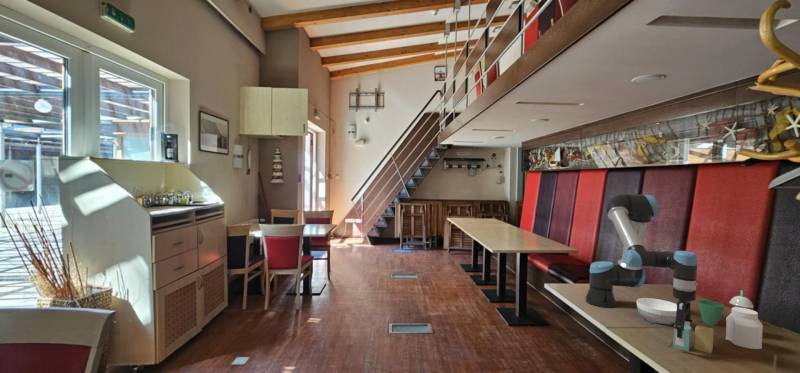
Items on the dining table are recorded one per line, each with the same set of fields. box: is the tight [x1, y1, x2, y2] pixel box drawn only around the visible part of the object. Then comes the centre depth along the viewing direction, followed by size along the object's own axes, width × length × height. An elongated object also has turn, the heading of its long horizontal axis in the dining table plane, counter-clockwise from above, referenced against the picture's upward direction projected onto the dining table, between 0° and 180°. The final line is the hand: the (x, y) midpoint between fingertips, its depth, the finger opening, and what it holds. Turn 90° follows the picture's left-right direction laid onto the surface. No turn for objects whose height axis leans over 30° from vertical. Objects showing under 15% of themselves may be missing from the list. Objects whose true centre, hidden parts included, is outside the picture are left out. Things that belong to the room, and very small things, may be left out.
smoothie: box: [728, 289, 754, 315], centre depth 169 cm, size 8×8×20 cm
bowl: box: [636, 297, 677, 326], centre depth 181 cm, size 19×19×9 cm
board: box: [668, 340, 714, 359], centre depth 151 cm, size 13×12×1 cm
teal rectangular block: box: [672, 324, 693, 351], centre depth 151 cm, size 5×5×9 cm
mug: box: [697, 298, 725, 326], centre depth 182 cm, size 15×10×10 cm
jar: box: [725, 307, 764, 350], centre depth 156 cm, size 12×10×15 cm
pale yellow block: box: [694, 324, 714, 354], centre depth 150 cm, size 5×5×9 cm
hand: (682, 340), depth 151 cm, fingers open, 11 cm apart
